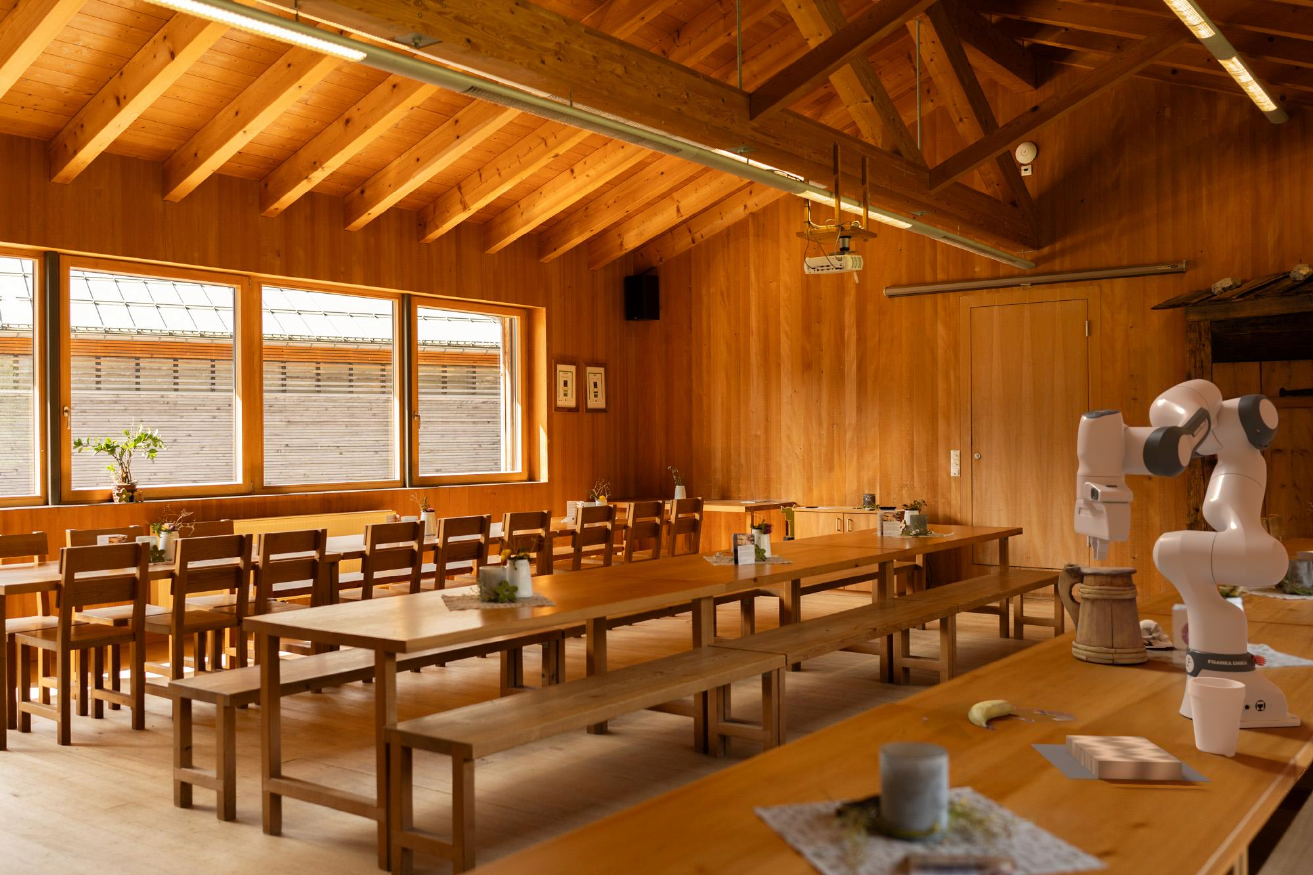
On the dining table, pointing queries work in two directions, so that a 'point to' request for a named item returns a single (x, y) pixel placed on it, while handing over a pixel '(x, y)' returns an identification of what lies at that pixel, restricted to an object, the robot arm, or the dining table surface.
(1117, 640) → the tankard
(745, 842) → the dining table surface
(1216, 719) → the foam cup
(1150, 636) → the skull
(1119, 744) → the table sign
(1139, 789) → the dining table surface
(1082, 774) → the mat
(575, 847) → the dining table surface
